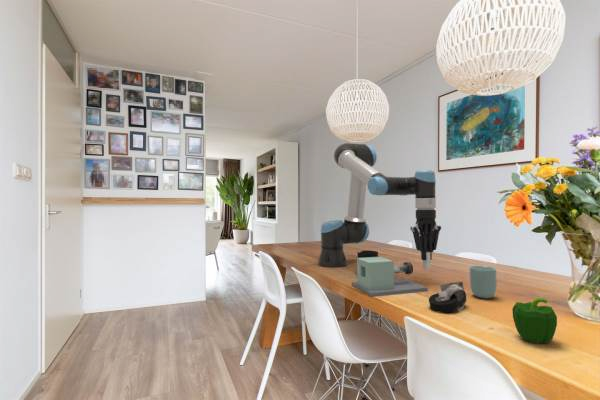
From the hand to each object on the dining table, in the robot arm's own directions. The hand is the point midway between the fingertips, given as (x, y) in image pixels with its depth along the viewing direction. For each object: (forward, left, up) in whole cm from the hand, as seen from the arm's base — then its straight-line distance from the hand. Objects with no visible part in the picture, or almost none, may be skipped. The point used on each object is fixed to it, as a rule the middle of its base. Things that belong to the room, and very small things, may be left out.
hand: (426, 268), depth 124 cm
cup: (+20, +7, -7) cm, 22 cm away
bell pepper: (+50, -9, -7) cm, 51 cm away
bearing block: (0, -17, -6) cm, 18 cm away
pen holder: (-25, -13, -7) cm, 29 cm away
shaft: (0, -16, -2) cm, 16 cm away
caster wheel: (+26, -12, -7) cm, 30 cm away
